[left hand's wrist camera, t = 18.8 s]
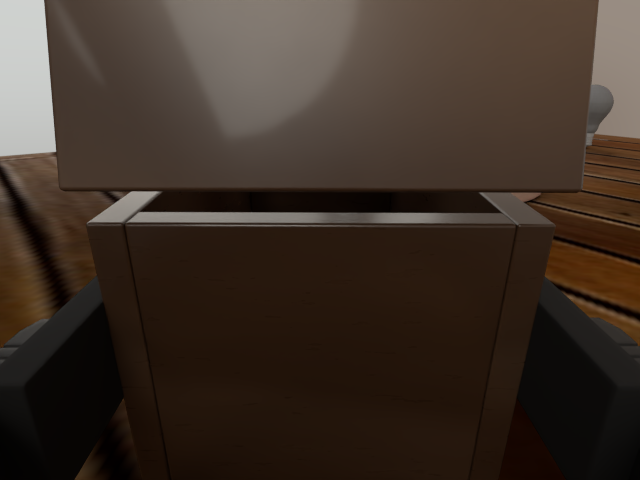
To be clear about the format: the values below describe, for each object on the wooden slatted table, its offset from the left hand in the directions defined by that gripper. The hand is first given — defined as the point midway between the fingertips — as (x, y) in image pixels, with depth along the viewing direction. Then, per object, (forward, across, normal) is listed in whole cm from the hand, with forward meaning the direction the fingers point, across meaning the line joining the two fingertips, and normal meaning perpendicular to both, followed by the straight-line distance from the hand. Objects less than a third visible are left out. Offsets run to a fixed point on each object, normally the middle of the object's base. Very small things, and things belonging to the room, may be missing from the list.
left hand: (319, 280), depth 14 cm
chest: (+5, 0, -6) cm, 8 cm away
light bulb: (+63, +45, -6) cm, 78 cm away
